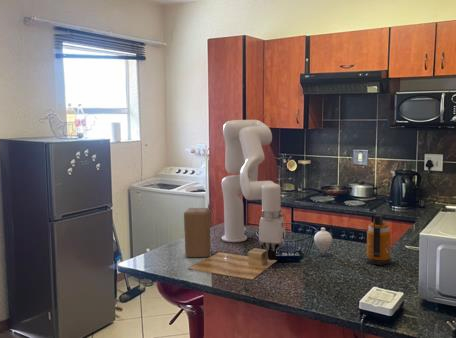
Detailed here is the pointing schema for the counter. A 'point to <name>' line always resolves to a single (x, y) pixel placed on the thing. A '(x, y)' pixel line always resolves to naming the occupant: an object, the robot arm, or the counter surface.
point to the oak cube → (257, 256)
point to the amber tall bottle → (378, 241)
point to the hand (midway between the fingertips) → (271, 259)
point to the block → (197, 232)
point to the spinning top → (323, 240)
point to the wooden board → (231, 265)
